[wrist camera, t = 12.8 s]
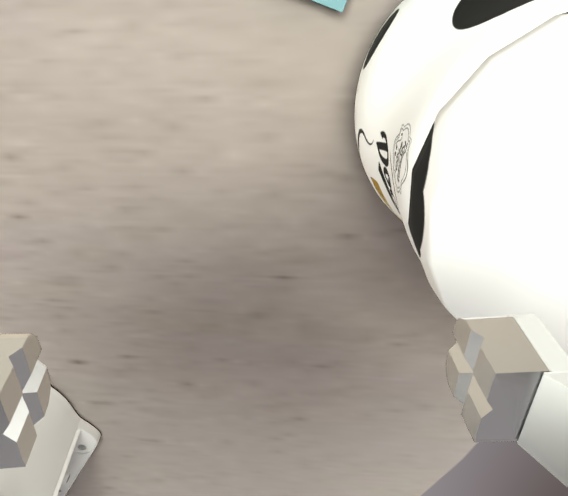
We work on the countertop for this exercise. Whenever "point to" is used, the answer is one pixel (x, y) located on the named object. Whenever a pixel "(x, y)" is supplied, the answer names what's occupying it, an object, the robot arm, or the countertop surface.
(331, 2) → the tray
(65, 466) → the robot arm
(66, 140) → the countertop surface
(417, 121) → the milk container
